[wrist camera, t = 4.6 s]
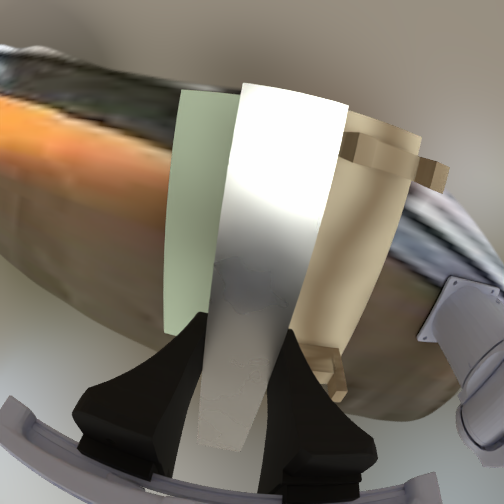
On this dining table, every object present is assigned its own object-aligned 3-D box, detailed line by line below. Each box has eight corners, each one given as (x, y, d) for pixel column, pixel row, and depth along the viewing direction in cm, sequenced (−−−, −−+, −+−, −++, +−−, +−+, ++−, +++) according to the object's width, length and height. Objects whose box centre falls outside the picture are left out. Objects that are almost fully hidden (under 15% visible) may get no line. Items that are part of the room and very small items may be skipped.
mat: (294, 105, 17) (294, 104, 17) (243, 346, 26) (242, 350, 26) (184, 90, 17) (181, 89, 17) (166, 328, 26) (164, 332, 26)
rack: (414, 136, 17) (463, 143, 11) (331, 362, 27) (338, 412, 21) (330, 107, 17) (354, 97, 11) (266, 354, 27) (262, 405, 21)
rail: (252, 96, 9) (243, 82, 7) (329, 112, 9) (348, 105, 7) (205, 410, 18) (196, 443, 15) (244, 418, 18) (240, 451, 15)
